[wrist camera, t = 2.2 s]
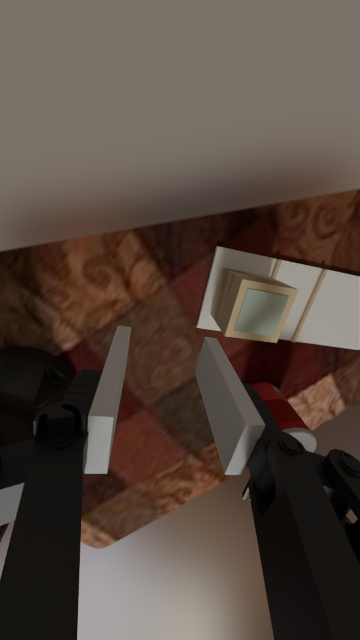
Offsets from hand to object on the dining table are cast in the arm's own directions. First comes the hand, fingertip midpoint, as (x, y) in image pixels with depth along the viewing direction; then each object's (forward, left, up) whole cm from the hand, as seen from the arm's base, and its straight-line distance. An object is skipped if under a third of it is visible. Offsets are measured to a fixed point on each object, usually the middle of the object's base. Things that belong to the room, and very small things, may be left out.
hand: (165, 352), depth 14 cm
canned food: (+22, -18, -19) cm, 34 cm away
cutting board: (+22, 0, -19) cm, 29 cm away
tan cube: (+12, 0, -18) cm, 22 cm away
